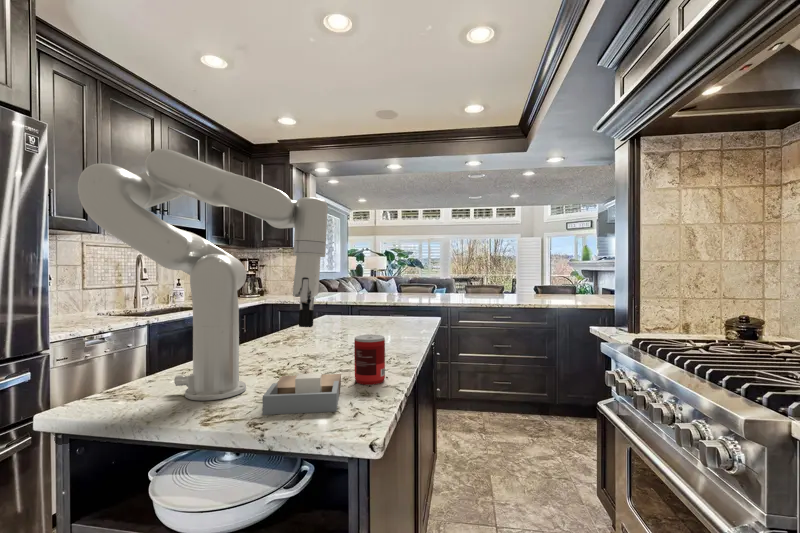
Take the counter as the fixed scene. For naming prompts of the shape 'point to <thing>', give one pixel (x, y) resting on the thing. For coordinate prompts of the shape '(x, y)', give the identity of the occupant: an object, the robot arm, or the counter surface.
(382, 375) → the canned food
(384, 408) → the counter surface
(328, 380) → the board
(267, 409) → the box
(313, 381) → the tile block
